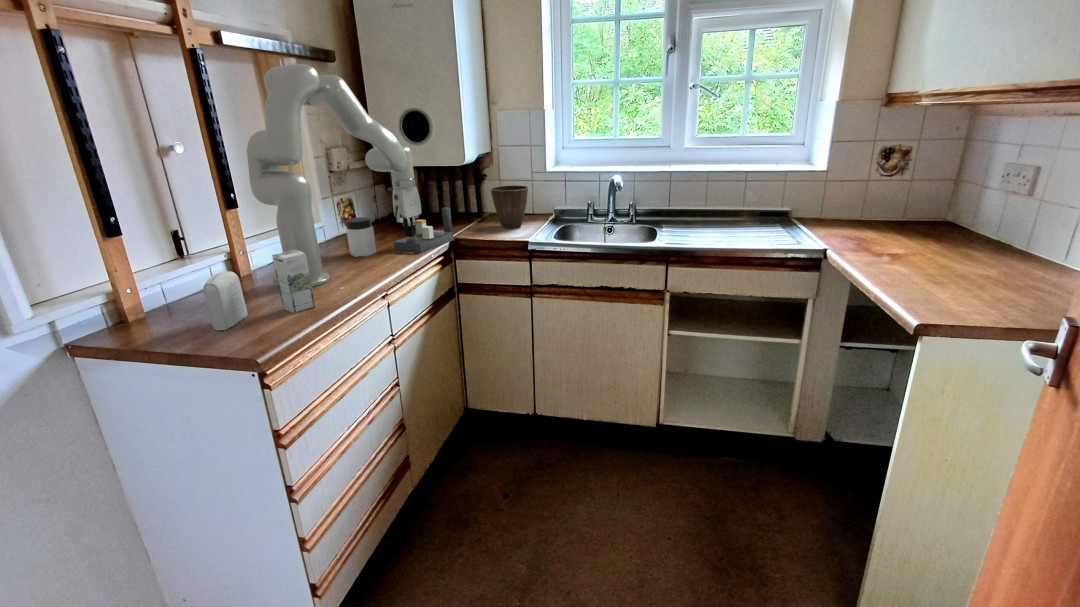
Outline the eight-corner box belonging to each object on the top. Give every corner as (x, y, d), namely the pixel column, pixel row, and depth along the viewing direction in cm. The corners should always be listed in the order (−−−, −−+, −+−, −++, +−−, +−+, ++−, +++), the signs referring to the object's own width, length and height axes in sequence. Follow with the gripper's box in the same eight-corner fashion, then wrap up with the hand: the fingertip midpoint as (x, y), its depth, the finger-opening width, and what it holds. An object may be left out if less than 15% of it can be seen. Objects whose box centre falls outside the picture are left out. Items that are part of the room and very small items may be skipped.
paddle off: (429, 239, 183) (428, 227, 181) (422, 238, 184) (421, 227, 182) (433, 237, 185) (432, 226, 183) (426, 236, 186) (425, 225, 184)
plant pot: (490, 225, 218) (487, 186, 213) (525, 222, 222) (523, 184, 216) (497, 232, 205) (494, 191, 199) (533, 229, 208) (532, 188, 203)
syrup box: (304, 303, 136) (293, 248, 131) (316, 307, 132) (305, 252, 127) (283, 309, 132) (270, 254, 127) (294, 314, 128) (282, 257, 123)
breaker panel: (421, 253, 179) (420, 243, 178) (395, 251, 183) (394, 241, 182) (454, 240, 196) (453, 231, 194) (429, 238, 200) (428, 229, 199)
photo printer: (233, 315, 129) (220, 267, 125) (250, 314, 129) (238, 266, 125) (210, 332, 120) (196, 281, 115) (230, 331, 120) (216, 280, 115)
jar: (348, 257, 178) (342, 222, 174) (352, 251, 185) (347, 218, 181) (375, 255, 179) (369, 221, 175) (378, 250, 186) (373, 216, 182)
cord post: (450, 241, 194) (447, 209, 190) (441, 240, 196) (438, 208, 192) (456, 239, 198) (453, 207, 193) (447, 238, 199) (444, 206, 195)
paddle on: (423, 234, 190) (421, 221, 188) (416, 233, 191) (414, 220, 190) (427, 232, 192) (425, 219, 190) (420, 232, 193) (418, 219, 192)
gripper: (398, 187, 172) (405, 241, 178) (425, 181, 184) (431, 232, 191) (380, 186, 175) (388, 240, 181) (408, 180, 187) (414, 231, 194)
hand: (410, 236), depth 186 cm, fingers closed
